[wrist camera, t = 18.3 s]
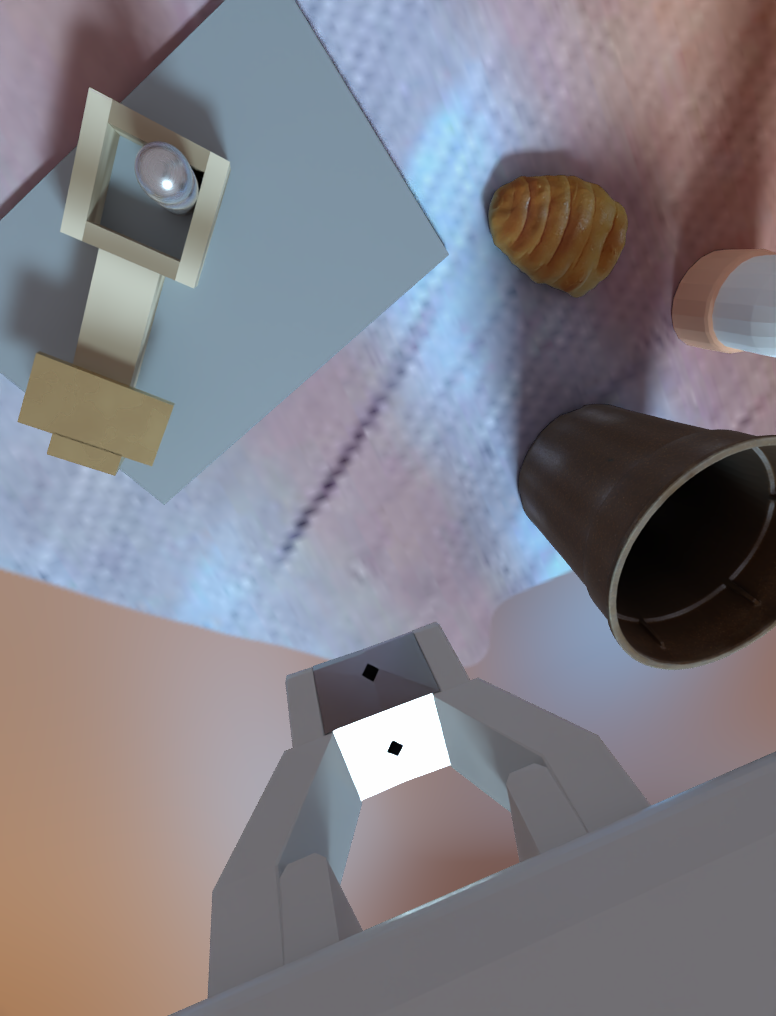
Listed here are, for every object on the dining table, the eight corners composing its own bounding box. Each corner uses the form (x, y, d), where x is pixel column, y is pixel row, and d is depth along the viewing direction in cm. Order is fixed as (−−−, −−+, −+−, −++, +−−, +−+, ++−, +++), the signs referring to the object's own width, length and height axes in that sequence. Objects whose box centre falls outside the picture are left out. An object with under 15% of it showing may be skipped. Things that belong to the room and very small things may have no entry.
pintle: (178, 156, 28) (158, 121, 21) (211, 197, 30) (203, 177, 22) (147, 186, 29) (116, 162, 22) (180, 225, 30) (162, 215, 23)
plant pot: (465, 538, 45) (568, 664, 31) (536, 354, 40) (701, 407, 26) (609, 561, 51) (752, 677, 37) (689, 403, 45) (893, 468, 31)
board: (267, -37, 27) (268, -43, 26) (445, 254, 35) (448, 254, 34) (-80, 303, 29) (-85, 304, 28) (165, 501, 37) (164, 504, 36)
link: (103, 103, 27) (89, 87, 24) (230, 170, 29) (230, 161, 27) (43, 388, 32) (26, 400, 29) (157, 424, 34) (150, 438, 31)
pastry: (467, 261, 36) (491, 260, 32) (501, 149, 33) (531, 136, 30) (576, 300, 39) (609, 303, 35) (614, 201, 36) (652, 194, 33)
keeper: (64, 339, 31) (35, 353, 27) (182, 387, 34) (173, 405, 30) (41, 418, 33) (11, 443, 28) (156, 457, 36) (145, 485, 31)
